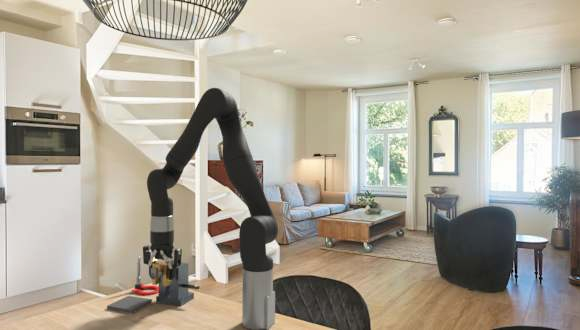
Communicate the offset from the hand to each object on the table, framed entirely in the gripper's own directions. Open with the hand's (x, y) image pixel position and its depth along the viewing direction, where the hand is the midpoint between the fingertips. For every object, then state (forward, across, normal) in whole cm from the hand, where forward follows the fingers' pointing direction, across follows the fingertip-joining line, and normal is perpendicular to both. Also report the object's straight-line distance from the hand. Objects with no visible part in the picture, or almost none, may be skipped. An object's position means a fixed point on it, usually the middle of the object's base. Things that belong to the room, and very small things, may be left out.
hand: (162, 278), depth 136 cm
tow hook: (+10, +15, -12) cm, 21 cm away
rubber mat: (+10, +11, +2) cm, 15 cm away
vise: (+10, -2, -4) cm, 11 cm away
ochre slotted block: (+2, 0, 0) cm, 2 cm away
